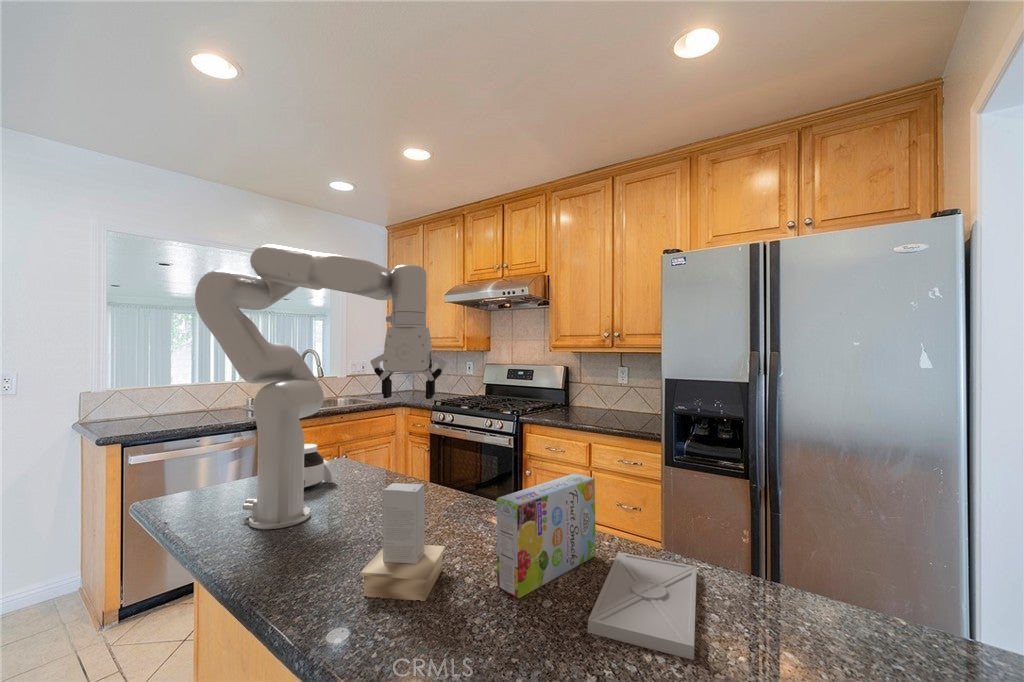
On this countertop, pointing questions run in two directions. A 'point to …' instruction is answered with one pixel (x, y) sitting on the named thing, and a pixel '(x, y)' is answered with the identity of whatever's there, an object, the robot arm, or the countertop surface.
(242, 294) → the robot arm
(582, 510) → the snack box
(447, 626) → the countertop surface
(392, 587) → the pedestal
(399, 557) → the skincare box
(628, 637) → the envelope
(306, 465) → the spread jar
